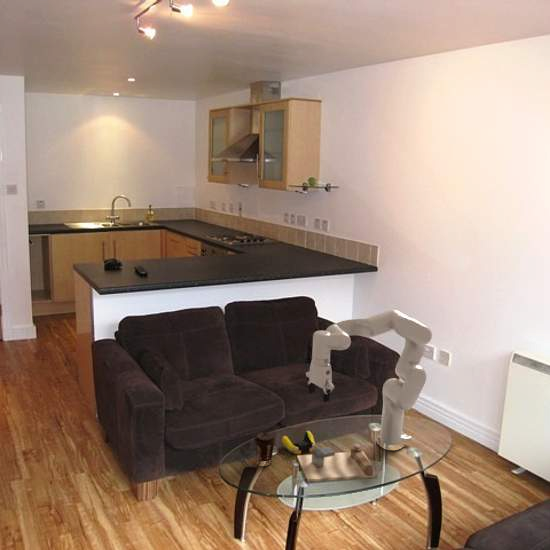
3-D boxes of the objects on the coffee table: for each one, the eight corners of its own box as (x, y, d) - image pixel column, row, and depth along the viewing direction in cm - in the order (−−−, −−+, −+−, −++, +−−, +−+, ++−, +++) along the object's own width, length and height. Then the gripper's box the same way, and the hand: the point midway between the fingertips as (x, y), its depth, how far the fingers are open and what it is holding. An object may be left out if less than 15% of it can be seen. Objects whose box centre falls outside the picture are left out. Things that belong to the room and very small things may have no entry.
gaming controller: (279, 446, 272) (290, 457, 263) (280, 435, 271) (291, 446, 262) (309, 440, 279) (320, 450, 270) (309, 429, 277) (320, 439, 269)
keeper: (328, 458, 262) (329, 446, 260) (333, 464, 257) (334, 452, 256) (311, 462, 258) (312, 449, 257) (316, 468, 254) (317, 455, 252)
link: (348, 453, 265) (349, 447, 265) (358, 452, 267) (358, 446, 266) (365, 476, 249) (366, 470, 248) (375, 475, 250) (376, 468, 249)
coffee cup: (262, 455, 264) (263, 428, 261) (277, 462, 259) (279, 434, 256) (249, 463, 257) (250, 436, 254) (265, 470, 253) (267, 442, 249)
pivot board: (363, 453, 269) (364, 440, 267) (377, 476, 252) (378, 462, 250) (297, 458, 263) (297, 444, 261) (307, 482, 246) (308, 467, 244)
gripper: (341, 365, 250) (338, 402, 255) (314, 351, 264) (312, 387, 268) (327, 368, 246) (325, 407, 250) (300, 355, 259) (299, 391, 264)
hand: (318, 397), depth 259 cm, fingers open, 9 cm apart
